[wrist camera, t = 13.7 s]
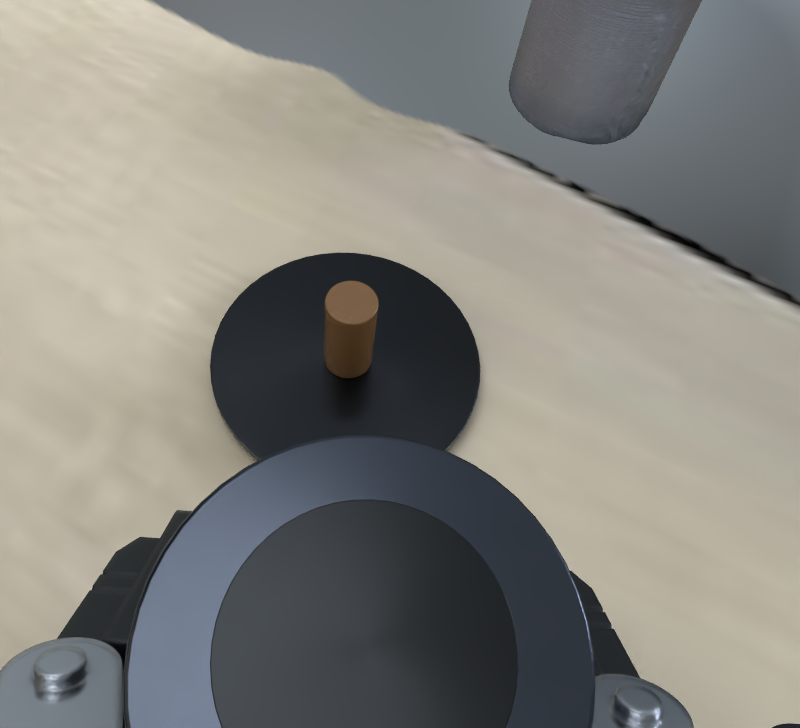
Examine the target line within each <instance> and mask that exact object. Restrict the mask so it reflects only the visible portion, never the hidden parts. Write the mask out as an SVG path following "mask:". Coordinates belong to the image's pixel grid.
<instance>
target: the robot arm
mask: <svg viewBox="0 0 800 728" xmlns="http://www.w3.org/2000/svg"><path fill="white" fill-rule="evenodd" d="M192 512H193V511H182V510H177V511H176V512H175V514H174V515H173V517H172V519H171V520H170V522H169V524H168V526H167V527H166V529H165V531H164V532H163V534H162V536H161V538H147V537H139V538H137V539H136V540H134V541H133V542H131V543H130V544H128V545H126V546H125V547H123V548H122V549H120V550H118V551H117V552H116V553H115V554H114V556H113V557H112V559H111V560H110V562H109V563H108V565H107V566H106V567H105V569H104V570H103V575H102V574H101V575H100V576H99V578H98V579H97V581H96V582H95V584H94V585H93V588H92V590H90V591H89V592H88V594H87V595H86V597H85V598H84V600H83V601H82V603H81V604H80V606H79V607H78V609H77V610H76V612H75V613H74V614H73V616H72V617H71V619H70V620H69V622H68V623H67V625H66V626H65V628H64V629H63V631H62V632H61V634H60V635H59V636H58V638H57V639H55V640H51V641H47V642H43V643H41V644H38V645H35V646H33V647H31V648H29V649H26V650H24V651H23V652H21V653H19V654H18V655H16V656H15V657H14V658H12V659H11V660H10V661H9V662H8V663H7V664H6V665H5V666H4V667H3V668H2V669H1V671H0V728H125V721H124V713H123V673H124V665H125V657H126V649H127V641H128V637H129V633H130V629H131V625H132V621H133V618H134V614H135V610H136V607H137V604H138V602H139V599H140V597H141V594H142V591H143V589H144V586H145V584H146V581H147V579H148V577H149V575H150V573H151V571H152V569H153V567H154V566H155V564H156V562H157V560H158V558H159V556H160V554H161V552H162V551H163V549H164V548H165V546H166V545H167V543H168V542H169V541H170V539H171V538H172V536H173V535H174V533H175V532H176V530H177V529H178V528H179V526H180V525H181V524H182V523H183V522H184V521H185V519H186V518H187V517H188V516H189V515H190V514H191V513H192ZM570 573H571V576H572V578H573V580H574V582H575V585H576V587H577V589H578V592H579V594H580V598H581V601H582V604H583V607H584V611H585V614H586V617H587V620H588V625H589V630H590V636H591V641H592V647H593V652H594V667H595V682H596V688H595V706H594V720H593V726H592V728H694V726H693V722H692V719H691V717H690V715H689V713H688V712H687V710H686V709H685V708H684V706H683V705H682V704H681V703H680V702H679V701H678V700H677V699H676V698H675V697H673V696H672V695H671V694H670V693H668V692H667V691H665V690H664V689H662V688H660V687H659V686H657V685H655V684H653V683H651V682H648V681H646V680H643V679H640V677H639V675H638V673H637V671H636V669H635V667H634V666H633V664H632V662H631V660H630V658H629V656H628V654H627V653H626V651H625V649H624V647H623V645H622V643H621V641H620V640H619V638H618V636H617V634H616V632H615V630H614V629H612V628H611V623H610V621H609V619H608V617H607V616H606V614H605V612H603V608H602V606H601V604H600V603H599V601H598V599H597V597H596V595H595V593H594V591H593V590H592V588H591V587H589V586H588V585H587V584H586V583H585V582H584V581H582V580H581V579H580V578H579V577H578V576H576V575H575V574H574V573H573V572H572V571H570ZM772 728H800V724H781V725H777V726H774V727H772Z"/></svg>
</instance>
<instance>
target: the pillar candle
mask: <svg viewBox="0 0 800 728" xmlns="http://www.w3.org/2000/svg"><path fill="white" fill-rule="evenodd" d="M701 1H702V0H532V1H531V5H530V8H529V11H528V15H527V18H526V22H525V26H524V29H523V33H522V36H521V39H520V43H519V46H518V50H517V54H516V57H515V61H514V64H513V68H512V72H511V76H510V80H509V91H510V95H511V98H512V101H513V103H514V105H515V106H516V108H517V110H518V111H519V112H520V113H521V114H522V116H523V117H524V118H525V119H526V120H527V121H528V122H530V123H531V124H532V125H533V126H535V127H536V128H537V129H539V130H541V131H542V132H545V133H547V134H550V135H553V136H559V137H563V138H567V139H570V140H574V141H579V142H583V143H587V144H607V143H611V142H615V141H617V140H620V139H622V138H625V137H627V136H628V135H630V134H631V133H632V132H633V131H634V130H635V129H636V128H637V127H638V126H639V124H640V122H641V121H642V119H643V118H644V116H645V115H646V114H647V112H648V110H649V108H650V106H651V104H652V102H653V100H654V98H655V96H656V94H657V92H658V90H659V88H660V86H661V83H662V81H663V79H664V77H665V75H666V73H667V71H668V69H669V67H670V65H671V63H672V61H673V59H674V56H675V54H676V52H677V51H678V49H679V46H680V44H681V42H682V40H683V38H684V36H685V34H686V32H687V30H688V28H689V26H690V24H691V21H692V19H693V17H694V15H695V13H696V11H697V9H698V7H699V5H700V3H701Z"/></svg>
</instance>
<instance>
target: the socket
mask: <svg viewBox="0 0 800 728" xmlns="http://www.w3.org/2000/svg"><path fill="white" fill-rule="evenodd" d="M595 688H596V682H595V667H594V652H593V647H592V641H591V636H590V630H589V625H588V620H587V617H586V614H585V611H584V607H583V604H582V601H581V598H580V594H579V592H578V589H577V587H576V585H575V582H574V580H573V578H572V576H571V573H570V571H569V569H568V566H567V564H566V562H565V561H564V559H563V557H562V556H561V554H560V552H559V550H558V549H557V547H556V545H555V544H554V542H553V540H552V539H551V537H550V536H549V535H548V533H547V532H546V531H545V529H544V528H543V527H542V525H541V524H540V523H539V521H538V520H537V519H536V517H535V516H534V515H533V514H532V513H531V512H530V511H529V510H528V509H527V508H526V507H525V505H524V504H523V503H522V502H521V501H520V500H519V499H518V498H517V497H516V496H515V495H514V494H512V493H511V492H510V491H509V490H508V489H506V488H505V487H504V486H503V485H502V484H501V483H499V482H498V481H497V480H496V479H494V478H493V477H491V476H490V475H488V474H487V473H485V472H484V471H482V470H481V469H479V468H478V467H476V466H475V465H473V464H471V463H469V462H467V461H465V460H463V459H461V458H459V457H457V456H455V455H453V454H451V453H449V452H447V451H444V450H441V449H438V448H435V447H433V446H430V445H427V444H424V443H420V442H416V441H411V440H407V439H403V438H398V437H389V436H380V435H343V436H336V437H328V438H321V439H317V440H313V441H309V442H305V443H301V444H297V445H294V446H291V447H289V448H286V449H283V450H281V451H278V452H276V453H273V454H271V455H268V456H266V457H265V458H263V459H261V460H259V461H257V462H255V463H253V464H251V465H250V466H248V467H246V468H244V469H243V470H241V471H240V472H238V473H237V474H235V475H234V476H233V477H231V478H230V479H228V480H227V481H225V482H224V483H222V484H221V485H220V486H219V487H218V488H217V489H215V490H214V491H213V492H212V493H211V494H210V495H209V496H208V497H206V498H205V499H204V500H203V501H202V502H201V503H200V504H199V505H198V506H197V507H196V508H195V509H194V510H193V512H192V513H191V514H190V515H189V516H188V517H187V518H186V519H185V521H184V522H183V523H182V524H181V525H180V526H179V528H178V529H177V530H176V532H175V533H174V535H173V536H172V538H171V539H170V541H169V542H168V543H167V545H166V546H165V548H164V549H163V551H162V552H161V554H160V556H159V558H158V560H157V562H156V564H155V566H154V567H153V569H152V571H151V573H150V575H149V577H148V579H147V581H146V584H145V586H144V589H143V591H142V594H141V597H140V599H139V602H138V604H137V607H136V610H135V614H134V618H133V621H132V625H131V629H130V633H129V637H128V641H127V649H126V657H125V665H124V673H123V713H124V721H125V728H592V726H593V720H594V706H595Z"/></svg>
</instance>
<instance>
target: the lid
mask: <svg viewBox="0 0 800 728" xmlns="http://www.w3.org/2000/svg"><path fill="white" fill-rule="evenodd" d="M210 371H211V383H212V387H213V392H214V396H215V400H216V403H217V406H218V408H219V411H220V413H221V416H222V418H223V419H224V421H225V423H226V425H227V426H228V428H229V430H230V431H231V433H232V434H233V435H234V436H235V438H236V439H237V440H238V441H239V443H240V444H241V445H242V446H243V447H244V448H245V449H246V450H247V451H248V452H249V453H250V454H252V455H253V456H254V457H255V458H256V459H258V460H261V459H263V458H265V457H266V456H268V455H271V454H273V453H276V452H278V451H281V450H283V449H286V448H289V447H291V446H294V445H297V444H301V443H305V442H309V441H313V440H317V439H321V438H328V437H336V436H343V435H380V436H389V437H398V438H403V439H407V440H411V441H416V442H420V443H424V444H427V445H430V446H433V447H435V448H438V449H441V450H444V451H446V450H447V449H448V448H449V447H450V446H451V445H452V444H453V443H454V442H455V440H456V439H457V438H458V436H459V435H460V433H461V432H462V431H463V429H464V427H465V425H466V423H467V421H468V419H469V418H470V416H471V413H472V411H473V408H474V405H475V402H476V399H477V395H478V389H479V383H480V362H479V354H478V349H477V346H476V342H475V338H474V336H473V333H472V331H471V329H470V327H469V324H468V322H467V321H466V319H465V317H464V316H463V314H462V312H461V311H460V309H459V308H458V307H457V306H456V304H455V303H454V302H453V301H452V299H451V298H450V297H449V296H448V295H447V294H446V293H445V292H444V291H443V290H442V289H441V288H439V287H438V286H437V285H435V284H434V283H433V282H432V281H430V280H429V279H428V278H426V277H424V276H423V275H421V274H419V273H418V272H416V271H415V270H412V269H410V268H408V267H406V266H404V265H402V264H399V263H396V262H394V261H391V260H388V259H385V258H380V257H376V256H371V255H365V254H357V253H329V254H320V255H314V256H309V257H305V258H301V259H298V260H295V261H292V262H289V263H287V264H284V265H282V266H280V267H277V268H275V269H274V270H272V271H270V272H268V273H267V274H265V275H263V276H262V277H260V278H259V279H258V280H256V281H255V282H254V283H252V284H251V285H250V286H249V287H248V288H247V289H246V290H244V291H243V292H242V293H241V294H240V295H239V296H238V298H237V299H236V300H235V301H234V303H233V304H232V305H231V306H230V308H229V309H228V311H227V313H226V314H225V316H224V318H223V319H222V321H221V323H220V326H219V328H218V330H217V333H216V335H215V339H214V343H213V347H212V352H211V363H210Z"/></svg>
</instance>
